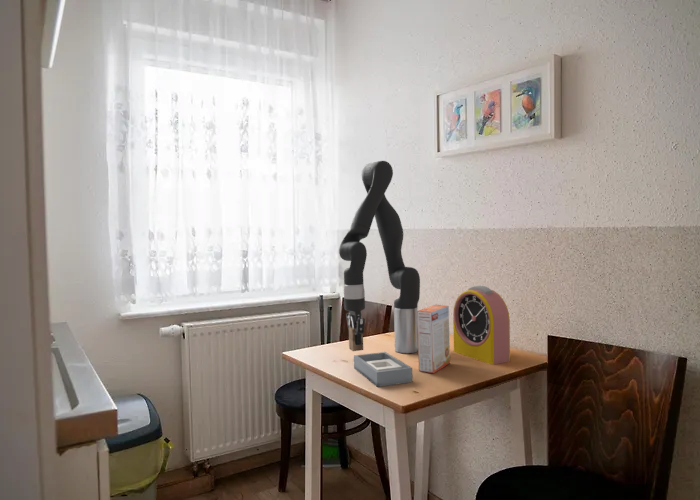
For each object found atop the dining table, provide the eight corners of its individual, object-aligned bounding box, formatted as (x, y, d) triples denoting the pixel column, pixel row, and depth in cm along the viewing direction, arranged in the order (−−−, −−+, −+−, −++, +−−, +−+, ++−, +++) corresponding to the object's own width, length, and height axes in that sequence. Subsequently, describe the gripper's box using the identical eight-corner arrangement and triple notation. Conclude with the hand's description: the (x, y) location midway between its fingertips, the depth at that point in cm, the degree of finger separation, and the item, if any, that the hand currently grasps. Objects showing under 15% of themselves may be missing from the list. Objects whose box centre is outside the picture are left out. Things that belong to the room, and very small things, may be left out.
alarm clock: (452, 351, 183) (452, 284, 182) (470, 348, 188) (470, 282, 186) (492, 364, 165) (491, 289, 164) (511, 360, 169) (510, 287, 168)
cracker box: (435, 361, 170) (434, 304, 170) (450, 363, 167) (450, 305, 166) (417, 371, 159) (416, 309, 158) (433, 374, 156) (432, 311, 155)
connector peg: (359, 347, 174) (358, 326, 174) (363, 349, 170) (362, 328, 170) (349, 348, 173) (348, 327, 172) (353, 351, 169) (352, 329, 168)
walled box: (385, 364, 168) (385, 351, 168) (412, 381, 148) (412, 367, 148) (354, 368, 164) (353, 355, 164) (377, 386, 144) (376, 372, 144)
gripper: (371, 298, 165) (373, 346, 166) (357, 293, 178) (358, 338, 179) (351, 300, 162) (353, 349, 163) (338, 294, 176) (340, 340, 177)
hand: (356, 343), depth 171 cm, fingers closed on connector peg, 4 cm apart
